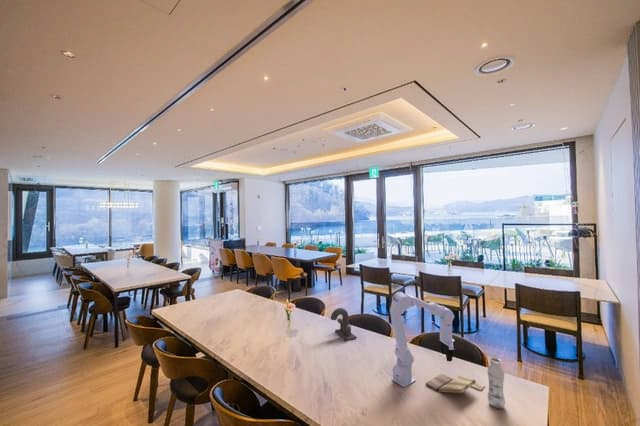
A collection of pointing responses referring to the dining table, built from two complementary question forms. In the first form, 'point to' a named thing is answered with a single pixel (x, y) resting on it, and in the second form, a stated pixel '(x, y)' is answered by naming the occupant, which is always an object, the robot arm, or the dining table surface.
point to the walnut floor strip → (438, 381)
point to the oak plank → (457, 386)
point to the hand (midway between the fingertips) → (446, 357)
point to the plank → (476, 385)
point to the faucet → (343, 324)
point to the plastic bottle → (496, 384)
